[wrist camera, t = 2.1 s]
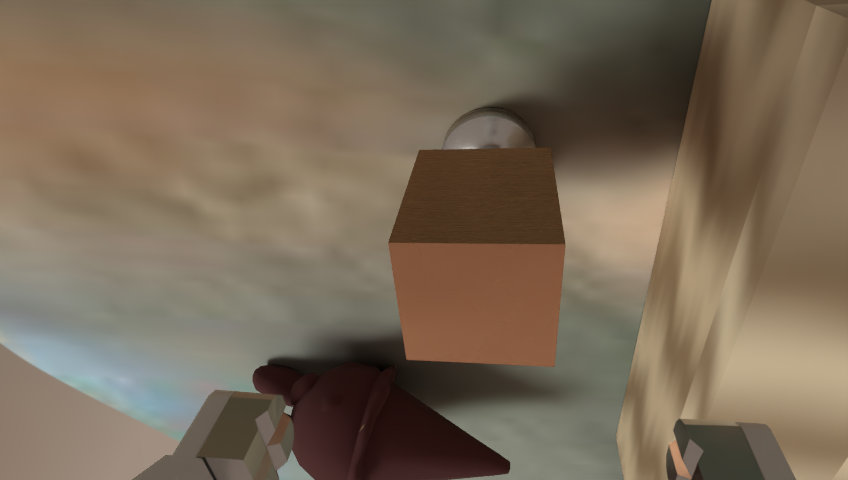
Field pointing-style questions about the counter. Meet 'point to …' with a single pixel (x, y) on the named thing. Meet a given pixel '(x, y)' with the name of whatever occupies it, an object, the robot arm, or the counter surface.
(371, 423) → the icecream
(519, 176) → the wooden block
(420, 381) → the counter surface
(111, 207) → the counter surface
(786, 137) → the keyhole plate
